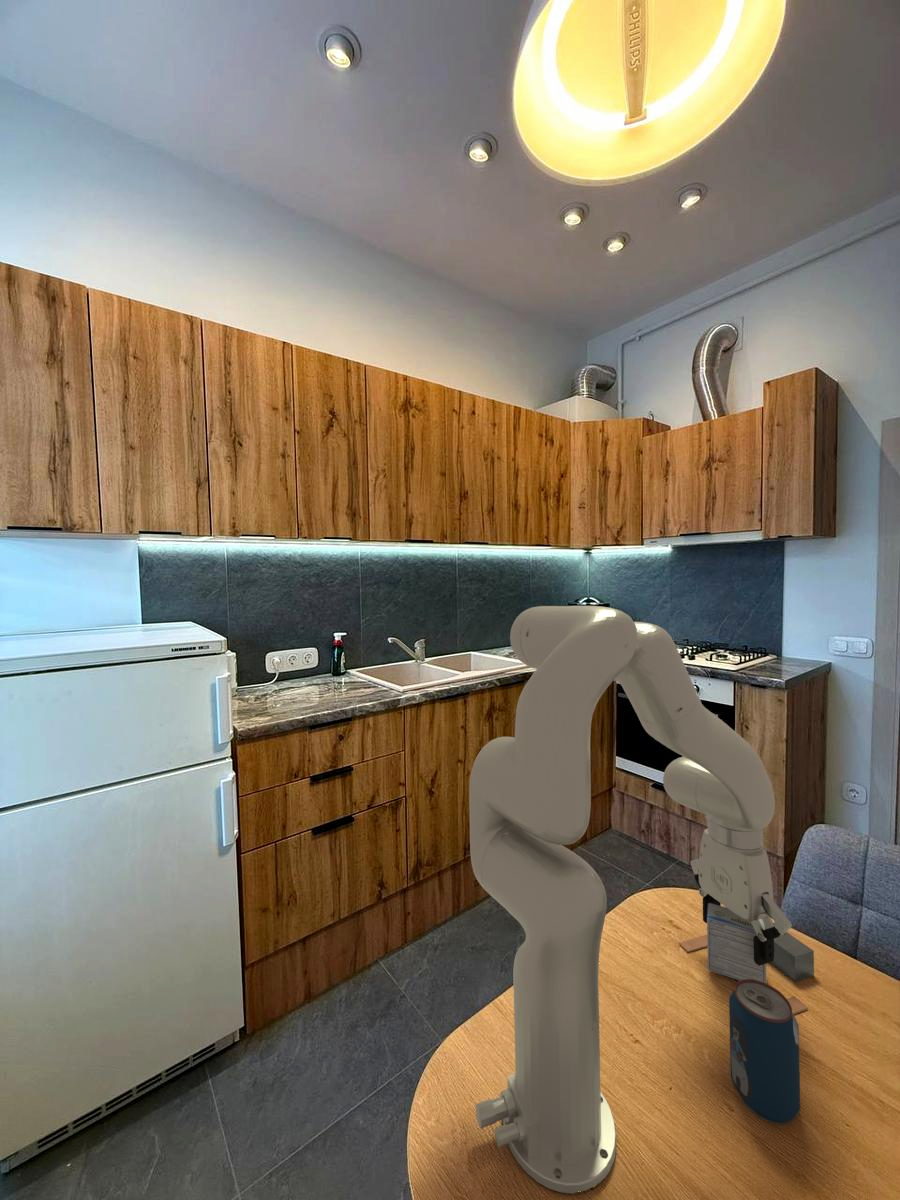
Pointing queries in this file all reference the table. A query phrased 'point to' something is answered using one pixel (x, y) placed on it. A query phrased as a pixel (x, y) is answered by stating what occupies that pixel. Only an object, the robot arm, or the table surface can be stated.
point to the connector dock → (778, 960)
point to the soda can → (764, 1051)
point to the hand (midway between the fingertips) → (736, 940)
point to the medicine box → (732, 945)
